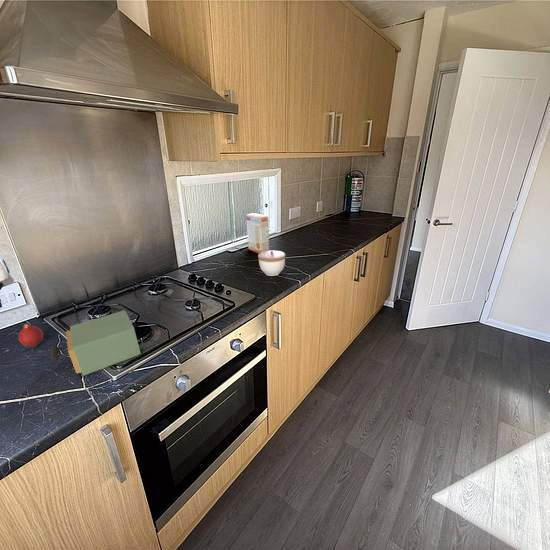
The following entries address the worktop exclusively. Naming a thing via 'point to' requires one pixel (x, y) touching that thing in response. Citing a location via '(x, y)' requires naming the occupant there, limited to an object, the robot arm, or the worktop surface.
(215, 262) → the worktop surface
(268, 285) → the worktop surface
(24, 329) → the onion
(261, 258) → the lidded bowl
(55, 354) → the wooden pull-out drawer
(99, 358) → the green box
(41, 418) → the worktop surface
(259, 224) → the cracker box
